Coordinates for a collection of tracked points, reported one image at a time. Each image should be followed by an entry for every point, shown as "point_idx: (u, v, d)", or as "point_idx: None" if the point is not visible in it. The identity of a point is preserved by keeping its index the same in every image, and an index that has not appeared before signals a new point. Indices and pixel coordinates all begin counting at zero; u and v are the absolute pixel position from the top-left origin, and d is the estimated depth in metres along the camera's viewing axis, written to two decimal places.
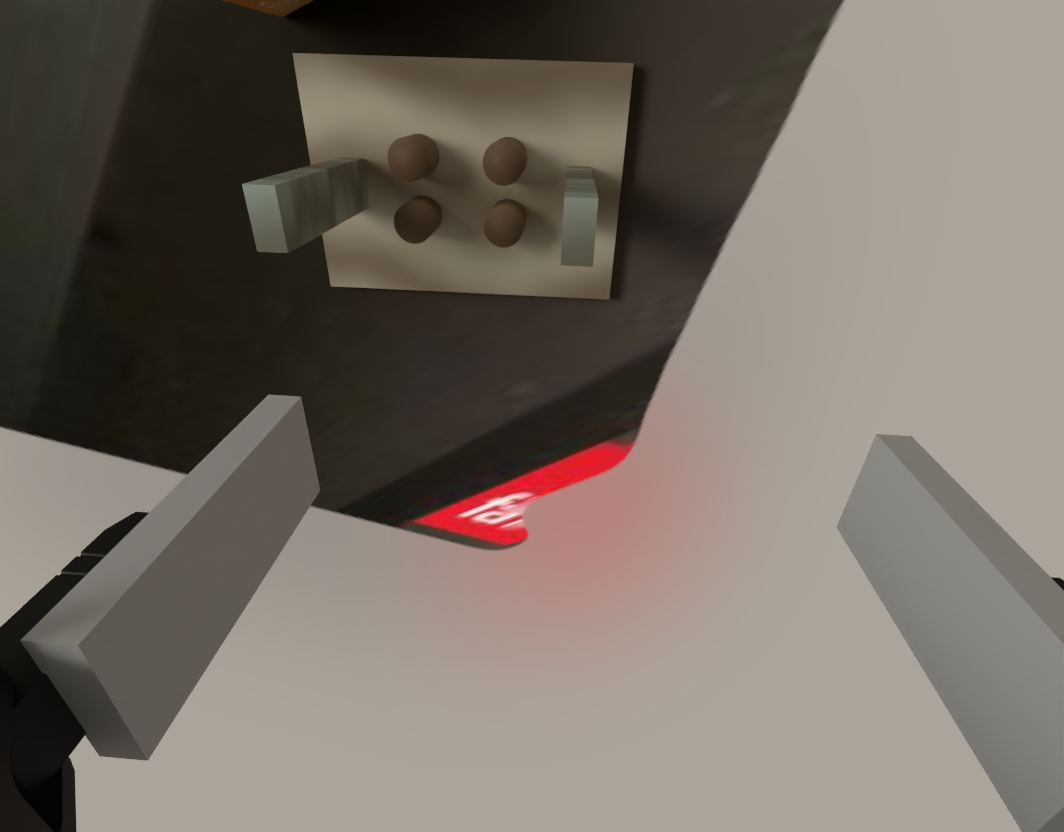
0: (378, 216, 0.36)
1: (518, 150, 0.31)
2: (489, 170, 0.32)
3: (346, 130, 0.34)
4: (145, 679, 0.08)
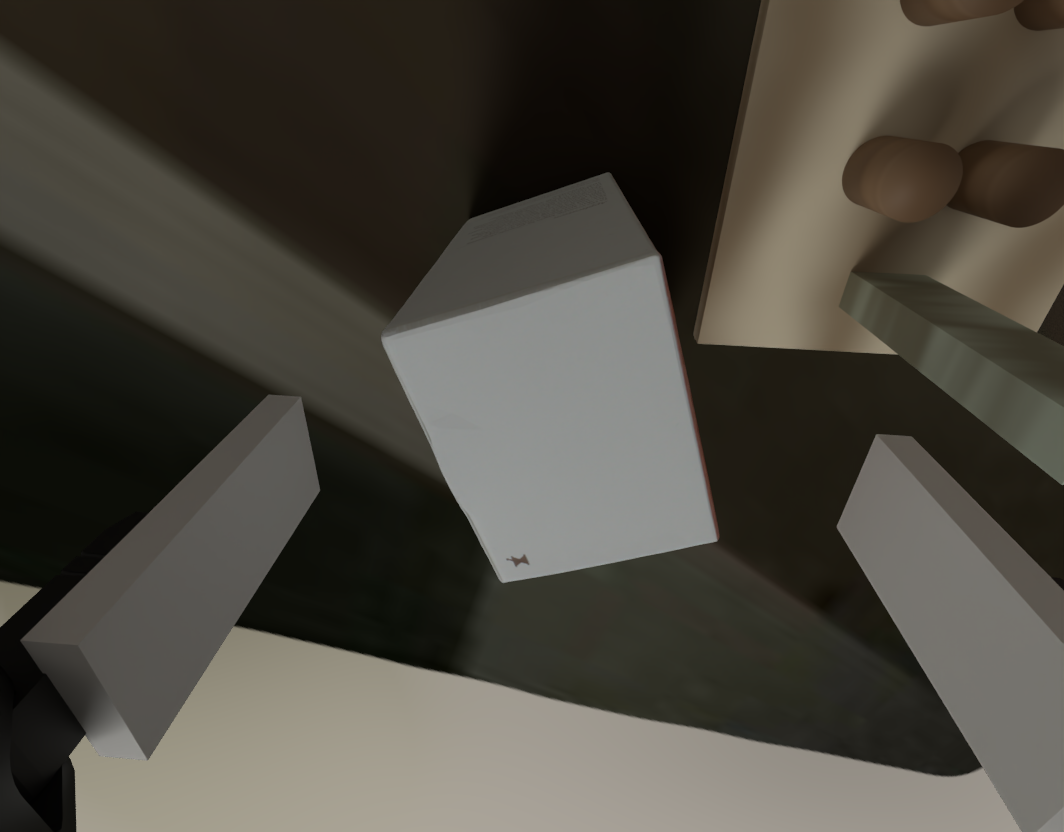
0: (945, 261, 0.22)
1: None
2: None
3: (806, 289, 0.23)
4: (145, 679, 0.08)
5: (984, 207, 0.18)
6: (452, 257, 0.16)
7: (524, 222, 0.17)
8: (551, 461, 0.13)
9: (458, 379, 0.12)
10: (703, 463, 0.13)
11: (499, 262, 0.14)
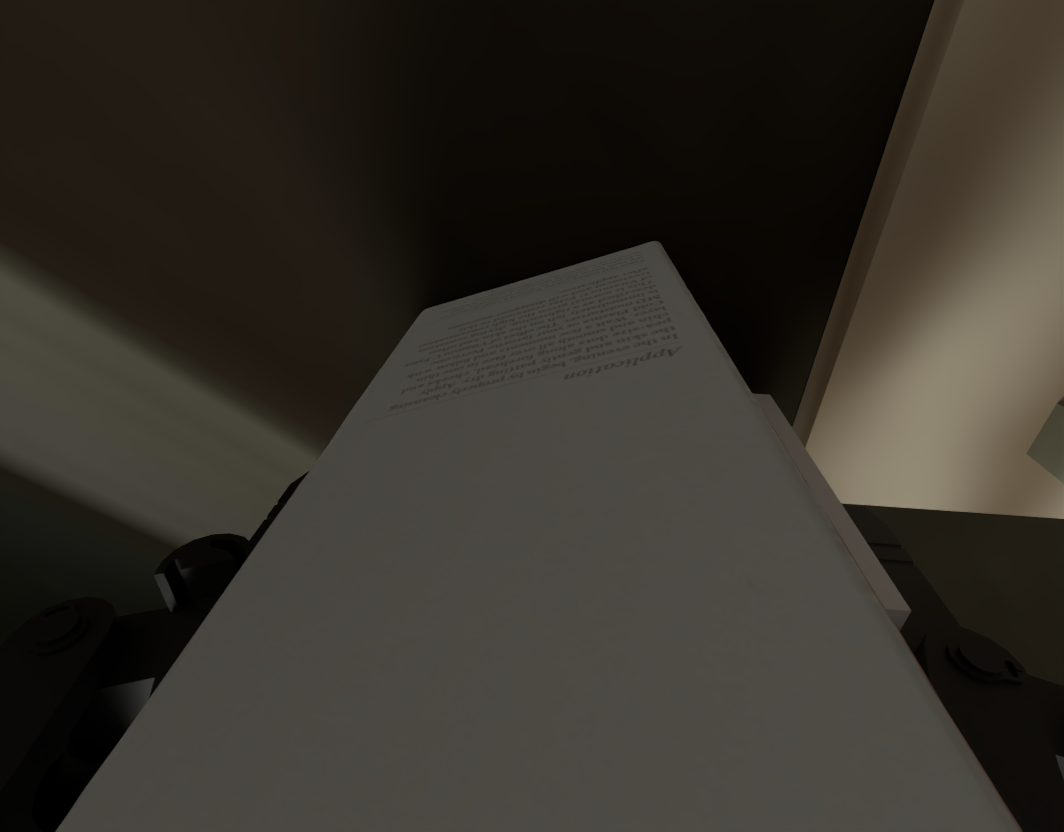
0: None
1: None
2: None
3: (976, 427, 0.14)
4: None
5: None
6: (344, 462, 0.08)
7: (504, 368, 0.09)
8: None
9: None
10: None
11: (414, 582, 0.05)
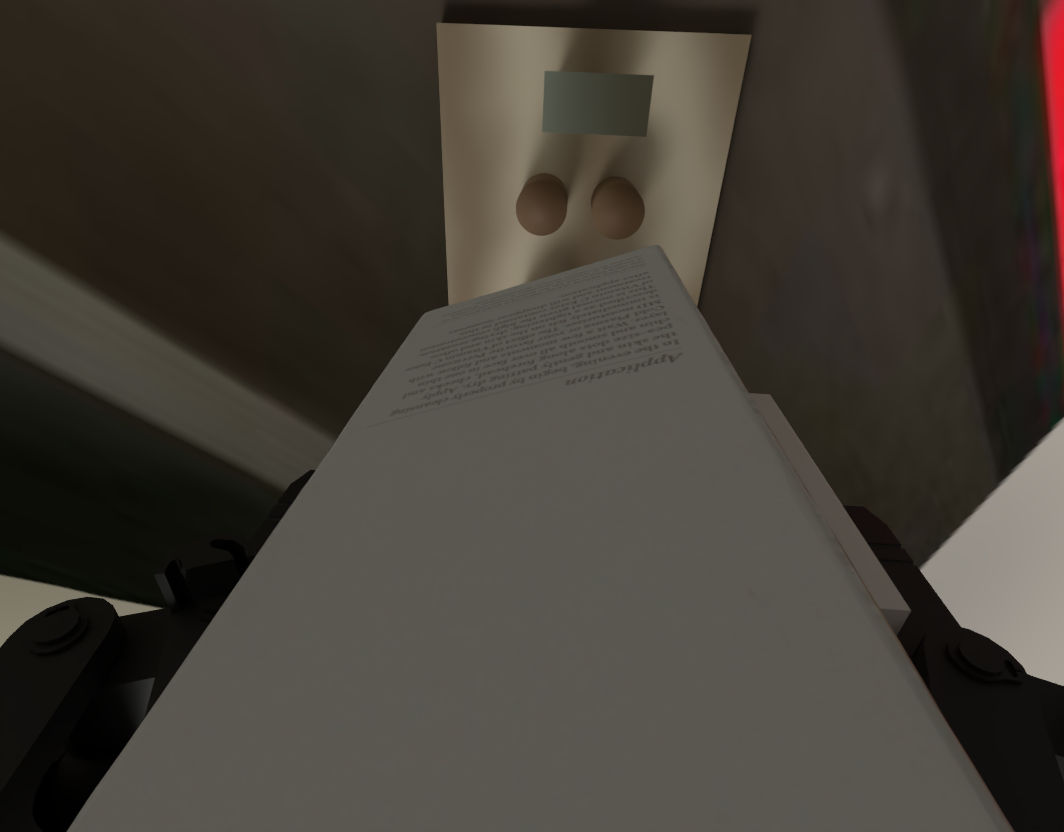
0: None
1: (526, 188, 0.25)
2: (548, 227, 0.26)
3: None
4: None
5: None
6: (346, 467, 0.08)
7: (505, 373, 0.09)
8: None
9: None
10: None
11: (416, 589, 0.05)
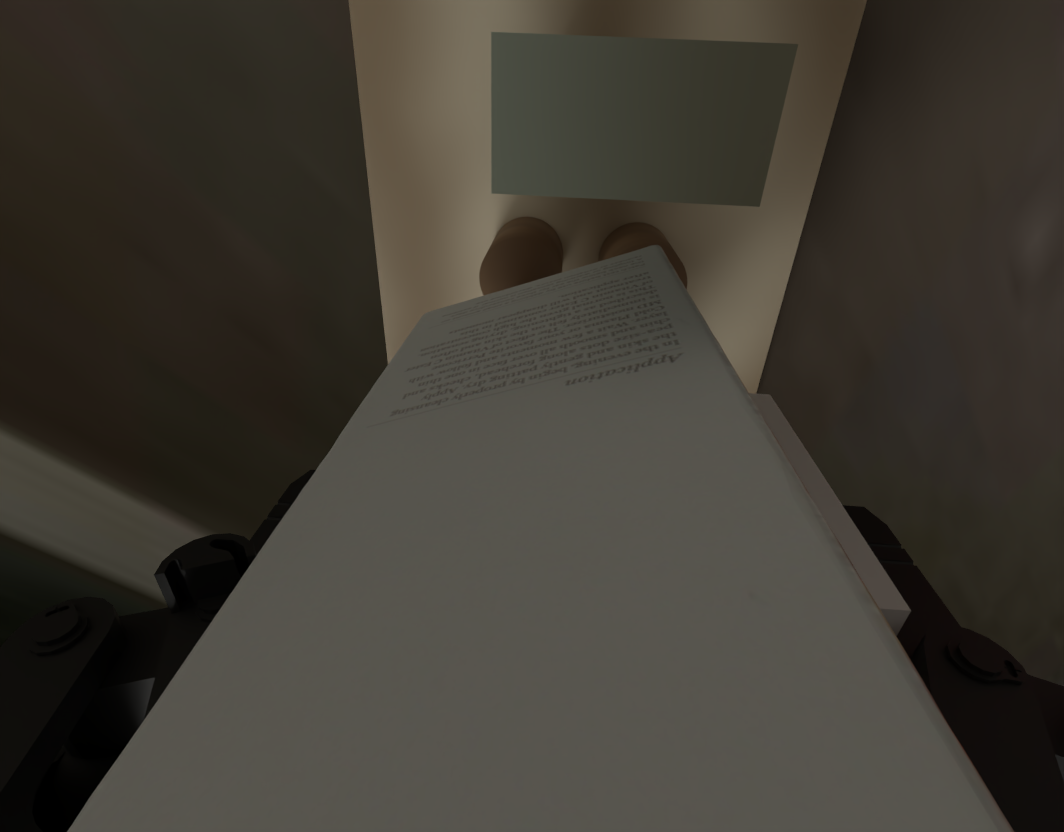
0: None
1: (495, 247, 0.15)
2: None
3: None
4: None
5: None
6: (347, 467, 0.08)
7: (505, 373, 0.09)
8: None
9: None
10: None
11: (417, 590, 0.05)
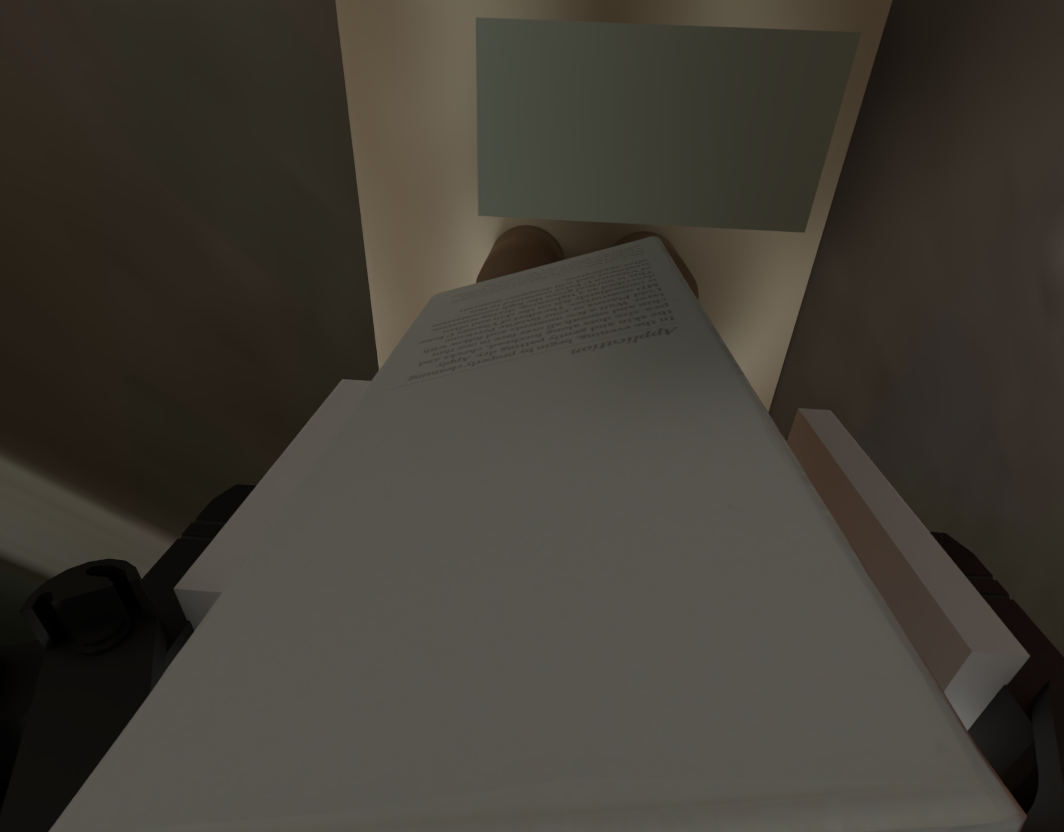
0: None
1: (492, 259, 0.14)
2: None
3: None
4: None
5: None
6: (370, 422, 0.08)
7: (515, 344, 0.10)
8: None
9: None
10: None
11: (443, 512, 0.06)
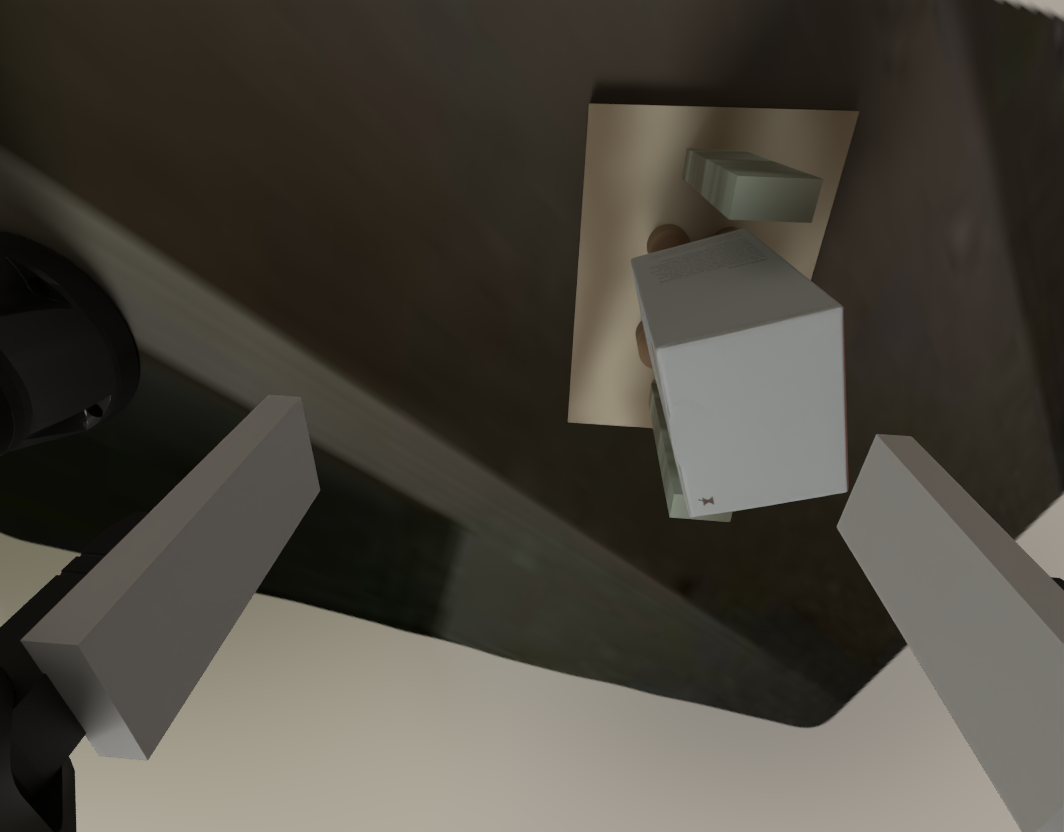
0: None
1: (662, 240, 0.30)
2: None
3: (627, 393, 0.38)
4: (145, 679, 0.08)
5: None
6: (657, 293, 0.24)
7: (701, 268, 0.25)
8: (747, 432, 0.20)
9: (700, 376, 0.19)
10: (846, 437, 0.20)
11: (711, 301, 0.21)
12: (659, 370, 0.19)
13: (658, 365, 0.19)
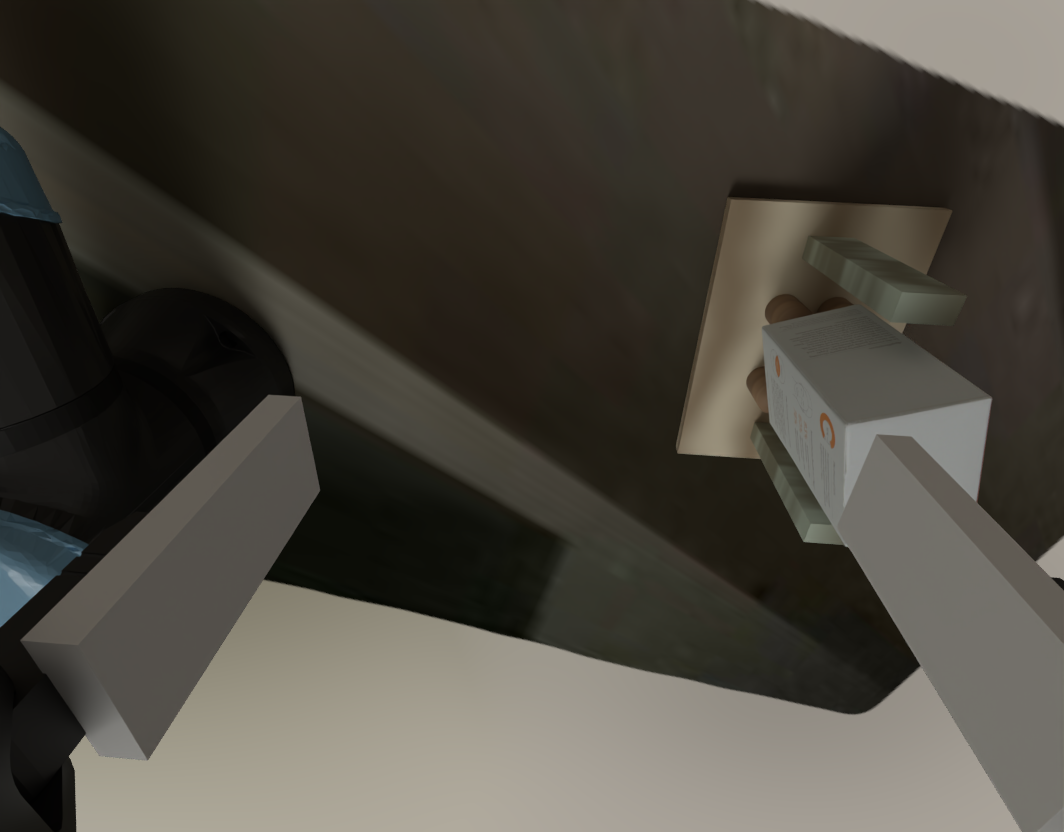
0: None
1: (789, 312, 0.36)
2: None
3: (732, 429, 0.44)
4: (145, 679, 0.08)
5: None
6: (814, 368, 0.30)
7: (842, 346, 0.31)
8: None
9: None
10: None
11: (872, 382, 0.27)
12: (844, 439, 0.26)
13: (844, 436, 0.26)
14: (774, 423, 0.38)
